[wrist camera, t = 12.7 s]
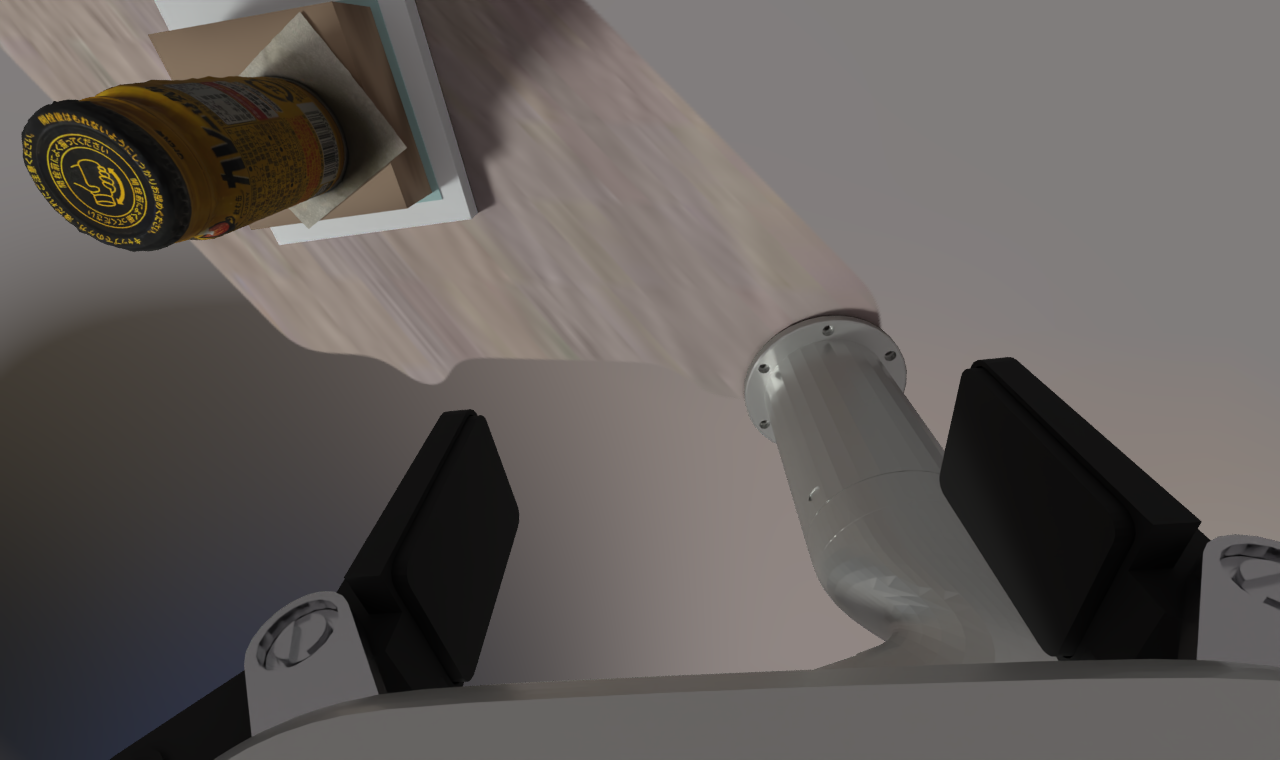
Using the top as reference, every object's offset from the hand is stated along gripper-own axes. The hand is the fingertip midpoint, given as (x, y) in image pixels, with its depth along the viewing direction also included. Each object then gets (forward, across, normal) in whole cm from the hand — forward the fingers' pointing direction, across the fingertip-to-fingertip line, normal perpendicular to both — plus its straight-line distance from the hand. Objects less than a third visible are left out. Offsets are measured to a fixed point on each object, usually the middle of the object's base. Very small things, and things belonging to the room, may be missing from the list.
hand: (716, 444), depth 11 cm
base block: (+27, +21, -6) cm, 34 cm away
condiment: (+23, +20, -6) cm, 31 cm away
